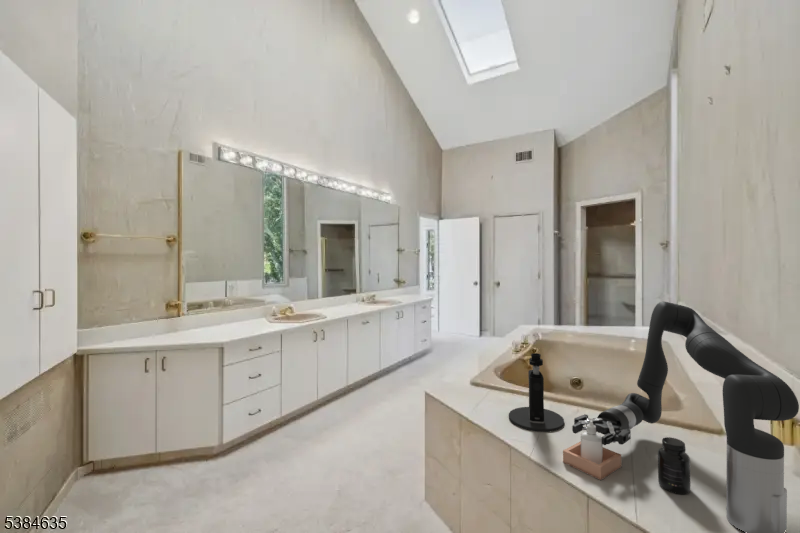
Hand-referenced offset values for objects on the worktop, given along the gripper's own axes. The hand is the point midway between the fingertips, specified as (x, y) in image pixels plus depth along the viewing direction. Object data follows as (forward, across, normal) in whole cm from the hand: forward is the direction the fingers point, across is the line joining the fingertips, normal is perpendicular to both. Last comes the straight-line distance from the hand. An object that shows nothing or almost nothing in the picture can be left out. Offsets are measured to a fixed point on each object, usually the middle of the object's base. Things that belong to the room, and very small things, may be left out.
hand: (587, 435), depth 108 cm
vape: (-14, -28, +9) cm, 33 cm away
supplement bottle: (-8, +18, +9) cm, 22 cm away
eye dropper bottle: (-2, 0, +9) cm, 9 cm away
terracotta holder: (-2, 0, +9) cm, 9 cm away
